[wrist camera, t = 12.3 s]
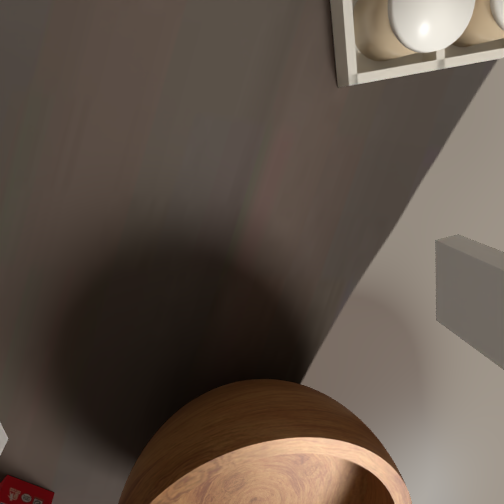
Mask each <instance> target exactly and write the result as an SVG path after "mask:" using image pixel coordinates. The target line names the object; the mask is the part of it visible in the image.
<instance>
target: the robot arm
mask: <svg viewBox="0 0 504 504" xmlns="http://www.w3.org/2000/svg"><path fill="white" fill-rule="evenodd" d="M435 243H436V320H437V321H438V322H439V323H441V324H442V325H444V326H445V327H446V328H448V329H449V330H450V331H452V332H453V333H455V334H456V335H457V336H459V337H460V338H461V339H463V340H464V341H465V342H467V343H468V344H469V345H471V346H472V347H473V348H475V349H476V350H478V351H479V352H480V353H482V354H483V355H484V356H486V357H487V358H489V359H490V360H491V361H493V362H494V363H495V364H497V365H498V366H499V367H501V368H502V369H503V370H504V252H501V251H499V250H497V249H494V248H492V247H489V246H487V245H484V244H481V243H479V242H476V241H474V240H471V239H468V238H466V237H464V236H461V235H454V236H450V237H446V238H442V239H438V240H435ZM7 440H8V437H7V435H6V433H5V431H4V429H3V427H2V425H1V423H0V455H1V453H2V451H3V449H4V447H5V444H6V442H7Z"/></svg>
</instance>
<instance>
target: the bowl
mask: <svg viewBox="0 0 504 504" xmlns="http://www.w3.org/2000/svg"><path fill="white" fill-rule="evenodd" d="M118 504H412V501H411V498H410V494H409V492H408V489H407V487H406V485H405V482H404V480H403V478H402V476H401V474H400V472H399V470H398V468H397V467H396V465H395V463H394V461H393V460H392V458H391V456H390V455H389V453H388V452H387V451H386V449H385V448H384V446H383V445H382V443H381V442H380V441H379V439H378V438H377V437H376V436H375V435H374V433H373V432H372V431H371V430H370V429H369V428H368V427H367V426H366V425H365V424H364V423H363V422H362V421H361V420H360V419H359V418H358V417H357V416H356V415H355V414H353V413H352V412H351V411H350V410H348V409H347V408H346V407H345V406H343V405H342V404H340V403H339V402H337V401H336V400H334V399H332V398H331V397H329V396H327V395H325V394H323V393H321V392H319V391H317V390H314V389H312V388H310V387H307V386H304V385H301V384H297V383H293V382H289V381H283V380H275V379H253V380H244V381H239V382H234V383H230V384H227V385H223V386H220V387H218V388H215V389H213V390H211V391H208V392H206V393H204V394H202V395H201V396H199V397H197V398H195V399H194V400H192V401H191V402H189V403H188V404H186V405H185V406H183V407H182V408H181V409H180V410H178V411H177V412H176V413H175V414H174V415H172V416H171V417H170V418H169V419H168V420H167V421H166V422H165V423H164V424H163V425H162V426H161V427H160V429H159V430H158V431H157V432H156V433H155V434H154V436H153V437H152V438H151V440H150V441H149V442H148V444H147V445H146V446H145V448H144V449H143V451H142V453H141V454H140V456H139V457H138V459H137V461H136V463H135V465H134V466H133V468H132V470H131V472H130V475H129V477H128V479H127V481H126V484H125V486H124V489H123V491H122V494H121V497H120V500H119V503H118Z"/></svg>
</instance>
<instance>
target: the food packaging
mask: <svg viewBox="0 0 504 504" xmlns="http://www.w3.org/2000/svg"><path fill="white" fill-rule="evenodd" d="M53 496H54V492H51V491H49V490H46V489H43V488H41V487H38V486H35V485H33V484H30V483H28V482H25V481H22V480H20V479H17V478H15V477H12V476H9V475H7V476H6V477H5V478H4V479H3V481H2V482H1V483H0V504H51V503H52V499H53Z"/></svg>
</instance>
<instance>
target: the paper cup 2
mask: <svg viewBox="0 0 504 504" xmlns="http://www.w3.org/2000/svg"><path fill="white" fill-rule="evenodd" d="M502 38H504V0H475V5H474V10H473V14H472V17H471V19H470V22H469V24H468V26H467V27H466V29H465V30H464V32H463V33H462V35H461V36H460V37H459V38H458V39H457V40H456V41H455V42H454V43H452V45H454V46H458V47H468V46H472V45H476V44H481V43H485V42H489V41H494V40H498V39H502Z"/></svg>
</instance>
